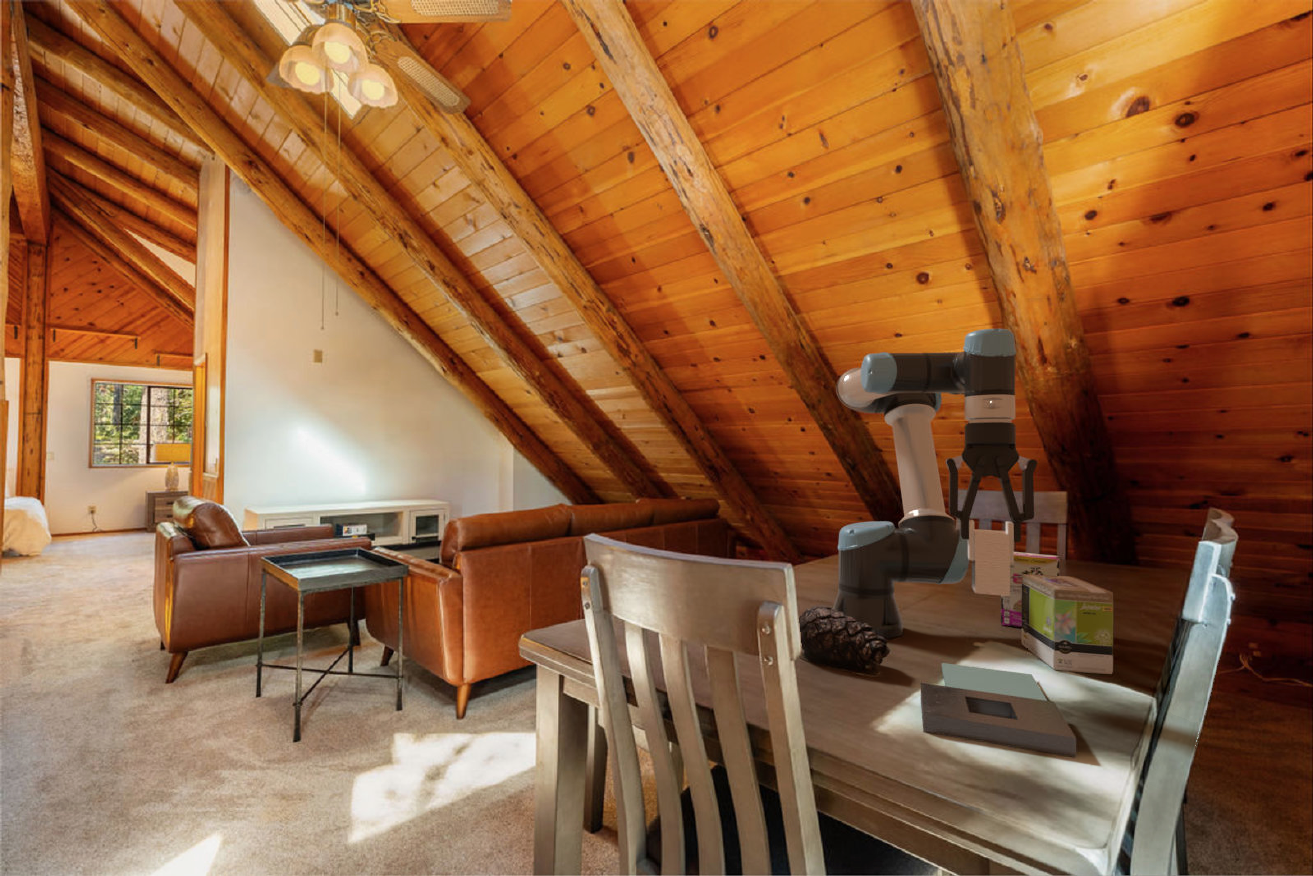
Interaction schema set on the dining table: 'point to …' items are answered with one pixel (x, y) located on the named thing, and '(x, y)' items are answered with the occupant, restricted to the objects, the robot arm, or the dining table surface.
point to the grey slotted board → (996, 719)
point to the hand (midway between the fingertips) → (990, 560)
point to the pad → (991, 681)
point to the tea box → (1068, 623)
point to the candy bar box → (1021, 565)
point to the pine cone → (840, 642)
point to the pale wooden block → (991, 562)
